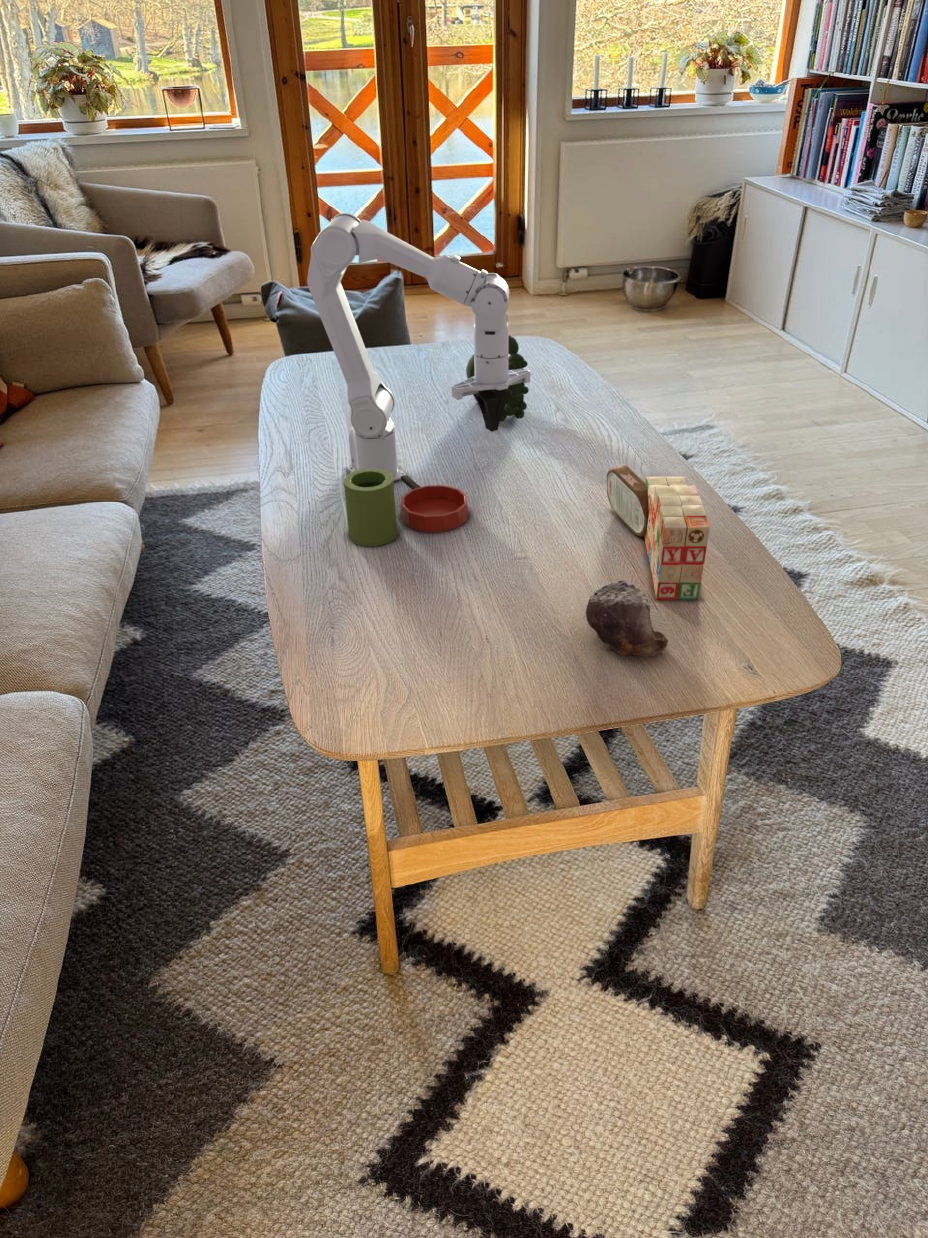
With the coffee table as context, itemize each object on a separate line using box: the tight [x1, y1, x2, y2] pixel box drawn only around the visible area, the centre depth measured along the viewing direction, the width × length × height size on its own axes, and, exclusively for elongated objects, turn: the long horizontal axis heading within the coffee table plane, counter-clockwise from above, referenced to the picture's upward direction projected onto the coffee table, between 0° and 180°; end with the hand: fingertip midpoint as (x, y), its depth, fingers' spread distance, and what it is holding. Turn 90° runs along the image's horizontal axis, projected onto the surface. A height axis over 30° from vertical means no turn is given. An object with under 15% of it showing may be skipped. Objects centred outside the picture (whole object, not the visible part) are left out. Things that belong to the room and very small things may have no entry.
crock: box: [343, 468, 398, 547], centre depth 152 cm, size 8×8×10 cm
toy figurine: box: [465, 334, 530, 422], centre depth 191 cm, size 9×19×25 cm
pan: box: [400, 475, 468, 533], centre depth 160 cm, size 17×11×3 cm, turn 30°
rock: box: [585, 580, 669, 657], centre depth 126 cm, size 12×9×10 cm
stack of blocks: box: [643, 475, 711, 601], centre depth 142 cm, size 21×6×12 cm, turn 177°
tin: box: [606, 464, 649, 537], centre depth 153 cm, size 15×3×8 cm, turn 18°
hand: (491, 428), depth 165 cm, fingers closed
